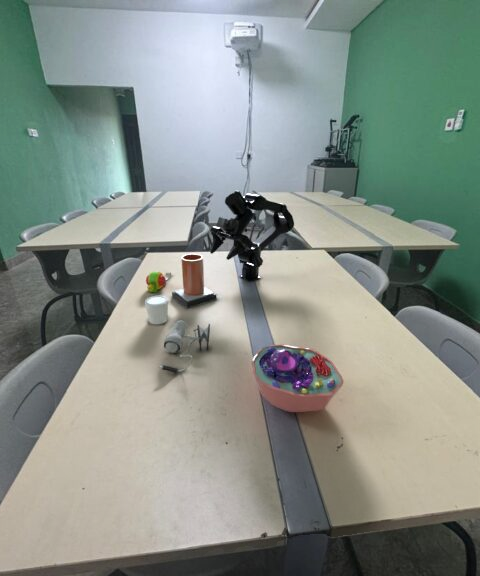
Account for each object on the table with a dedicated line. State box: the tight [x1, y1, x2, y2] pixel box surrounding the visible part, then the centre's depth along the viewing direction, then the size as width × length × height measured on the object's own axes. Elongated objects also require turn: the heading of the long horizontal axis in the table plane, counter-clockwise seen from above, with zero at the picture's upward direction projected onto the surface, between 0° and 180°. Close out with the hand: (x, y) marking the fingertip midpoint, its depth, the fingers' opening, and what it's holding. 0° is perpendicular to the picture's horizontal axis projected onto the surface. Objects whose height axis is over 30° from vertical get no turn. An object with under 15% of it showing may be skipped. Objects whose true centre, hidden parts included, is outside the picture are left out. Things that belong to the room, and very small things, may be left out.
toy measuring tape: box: [145, 270, 172, 293], centre depth 124 cm, size 6×20×7 cm, turn 173°
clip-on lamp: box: [158, 320, 211, 374], centre depth 83 cm, size 12×6×18 cm
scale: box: [171, 286, 217, 309], centre depth 115 cm, size 12×11×2 cm
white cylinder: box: [144, 295, 169, 325], centre depth 99 cm, size 7×7×7 cm
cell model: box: [251, 344, 344, 413], centre depth 69 cm, size 17×20×11 cm
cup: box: [180, 253, 205, 296], centre depth 112 cm, size 7×7×13 cm
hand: (218, 256), depth 117 cm, fingers open, 9 cm apart
